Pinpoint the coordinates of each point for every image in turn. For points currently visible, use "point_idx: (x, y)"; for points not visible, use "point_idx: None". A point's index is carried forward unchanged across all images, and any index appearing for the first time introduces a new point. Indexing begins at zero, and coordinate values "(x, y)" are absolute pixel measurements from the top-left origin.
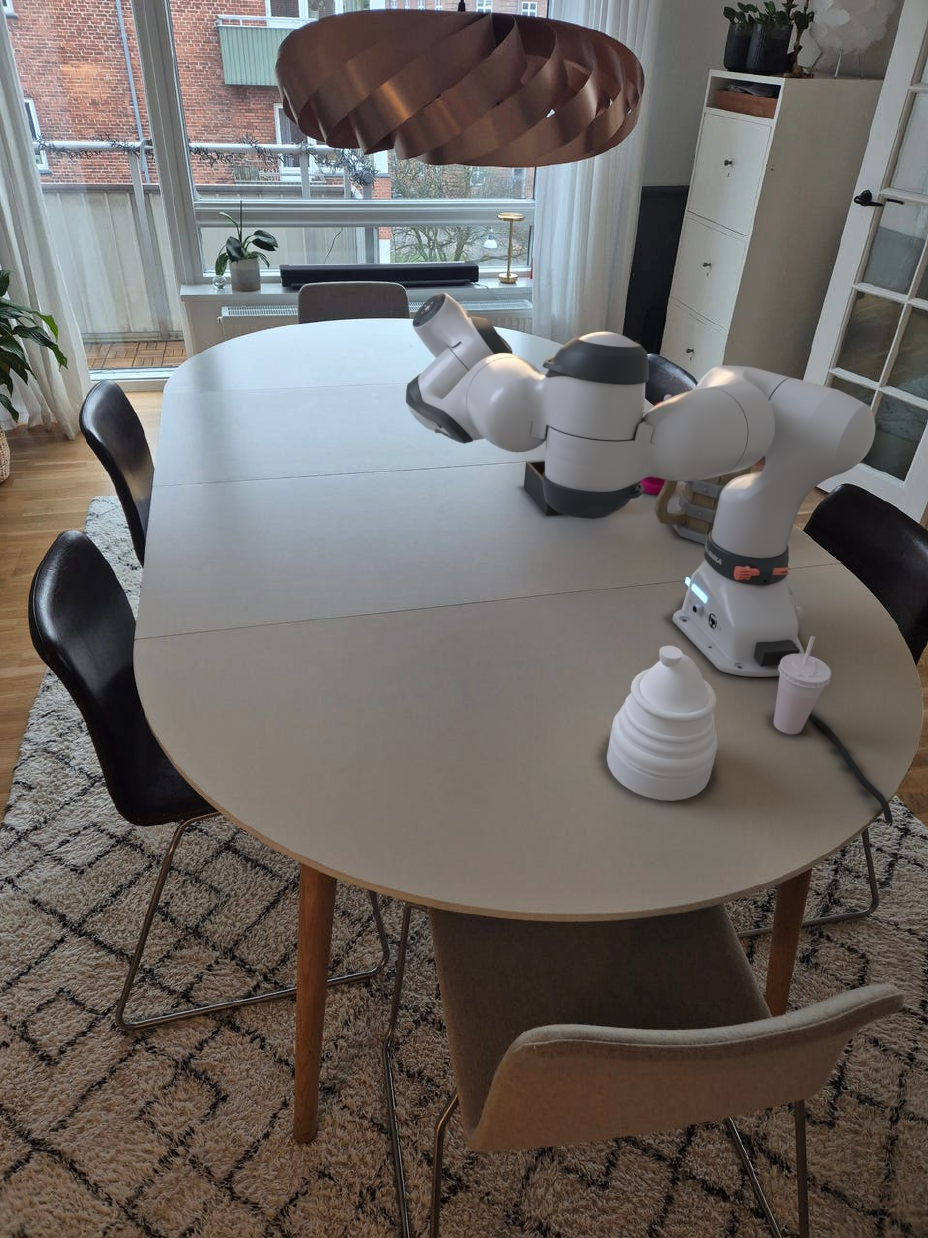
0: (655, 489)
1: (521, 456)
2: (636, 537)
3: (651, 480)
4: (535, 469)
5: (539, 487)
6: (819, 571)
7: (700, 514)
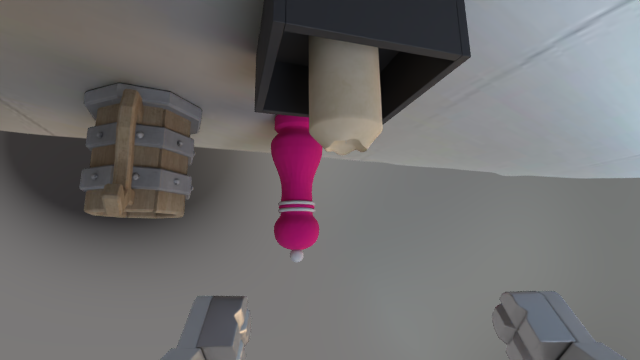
0: (277, 121)
1: (559, 59)
2: (110, 37)
3: (283, 132)
4: (411, 52)
5: (352, 5)
6: (25, 125)
7: (97, 133)
